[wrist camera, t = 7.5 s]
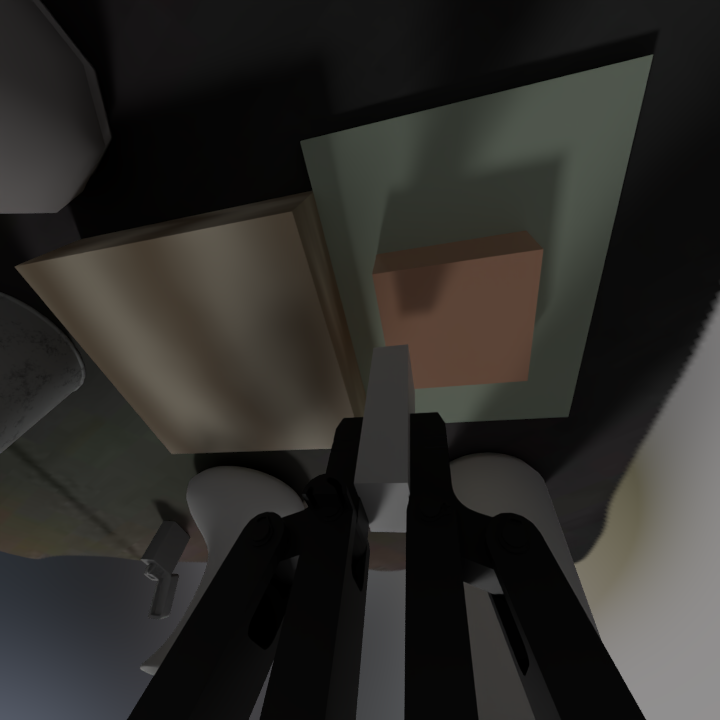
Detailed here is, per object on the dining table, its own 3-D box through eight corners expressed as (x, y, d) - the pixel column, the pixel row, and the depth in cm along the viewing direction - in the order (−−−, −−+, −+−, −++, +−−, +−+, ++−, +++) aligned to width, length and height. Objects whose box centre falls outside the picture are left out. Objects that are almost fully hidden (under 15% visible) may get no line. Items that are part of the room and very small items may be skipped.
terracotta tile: (395, 363, 21) (394, 390, 19) (376, 254, 17) (372, 274, 15) (515, 352, 19) (527, 380, 17) (526, 230, 15) (543, 249, 13)
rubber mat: (374, 421, 25) (373, 426, 25) (303, 140, 15) (299, 141, 14) (565, 411, 22) (568, 416, 22) (645, 56, 12) (653, 54, 11)
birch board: (199, 413, 27) (171, 454, 24) (80, 239, 19) (14, 266, 16) (369, 402, 24) (363, 447, 21) (315, 189, 16) (292, 211, 13)
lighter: (162, 520, 40) (116, 598, 34) (174, 521, 40) (130, 599, 33) (189, 548, 44) (153, 621, 38) (201, 548, 44) (166, 623, 38)
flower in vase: (216, 513, 37) (-2, 972, 18) (179, 448, 30) (-248, 1087, 11) (330, 524, 36) (234, 1040, 16) (320, 459, 29) (128, 1224, 9)
